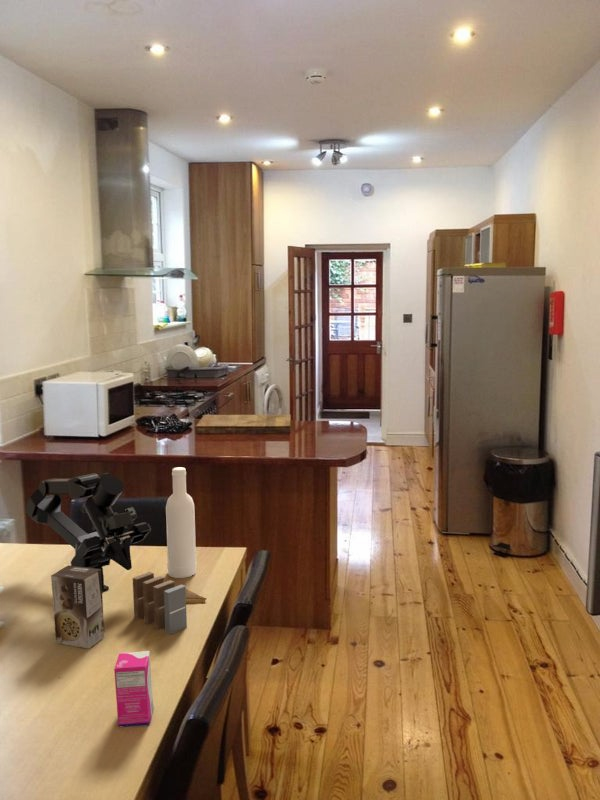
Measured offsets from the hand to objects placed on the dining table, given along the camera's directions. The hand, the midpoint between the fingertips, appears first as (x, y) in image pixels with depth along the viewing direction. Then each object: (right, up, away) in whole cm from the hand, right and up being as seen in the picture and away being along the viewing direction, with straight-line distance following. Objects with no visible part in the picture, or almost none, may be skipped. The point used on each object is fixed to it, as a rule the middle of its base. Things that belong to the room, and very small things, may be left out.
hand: (129, 569), depth 174 cm
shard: (+12, -10, +8) cm, 18 cm away
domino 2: (+7, -11, -5) cm, 14 cm away
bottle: (+9, -7, +24) cm, 27 cm away
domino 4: (+13, -12, -10) cm, 20 cm away
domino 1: (+4, -11, -2) cm, 12 cm away
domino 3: (+10, -11, -7) cm, 17 cm away
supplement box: (+12, -17, -44) cm, 49 cm away
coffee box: (-8, -13, -15) cm, 21 cm away
